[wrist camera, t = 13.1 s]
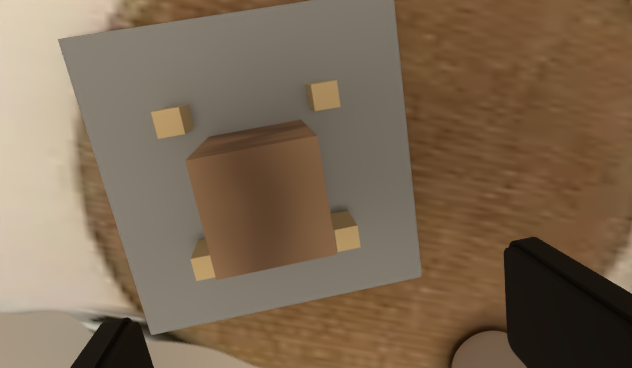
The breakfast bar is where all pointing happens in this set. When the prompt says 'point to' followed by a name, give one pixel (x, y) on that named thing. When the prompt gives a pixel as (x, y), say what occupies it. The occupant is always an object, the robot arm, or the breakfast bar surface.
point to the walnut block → (262, 198)
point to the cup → (486, 352)
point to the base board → (241, 114)
